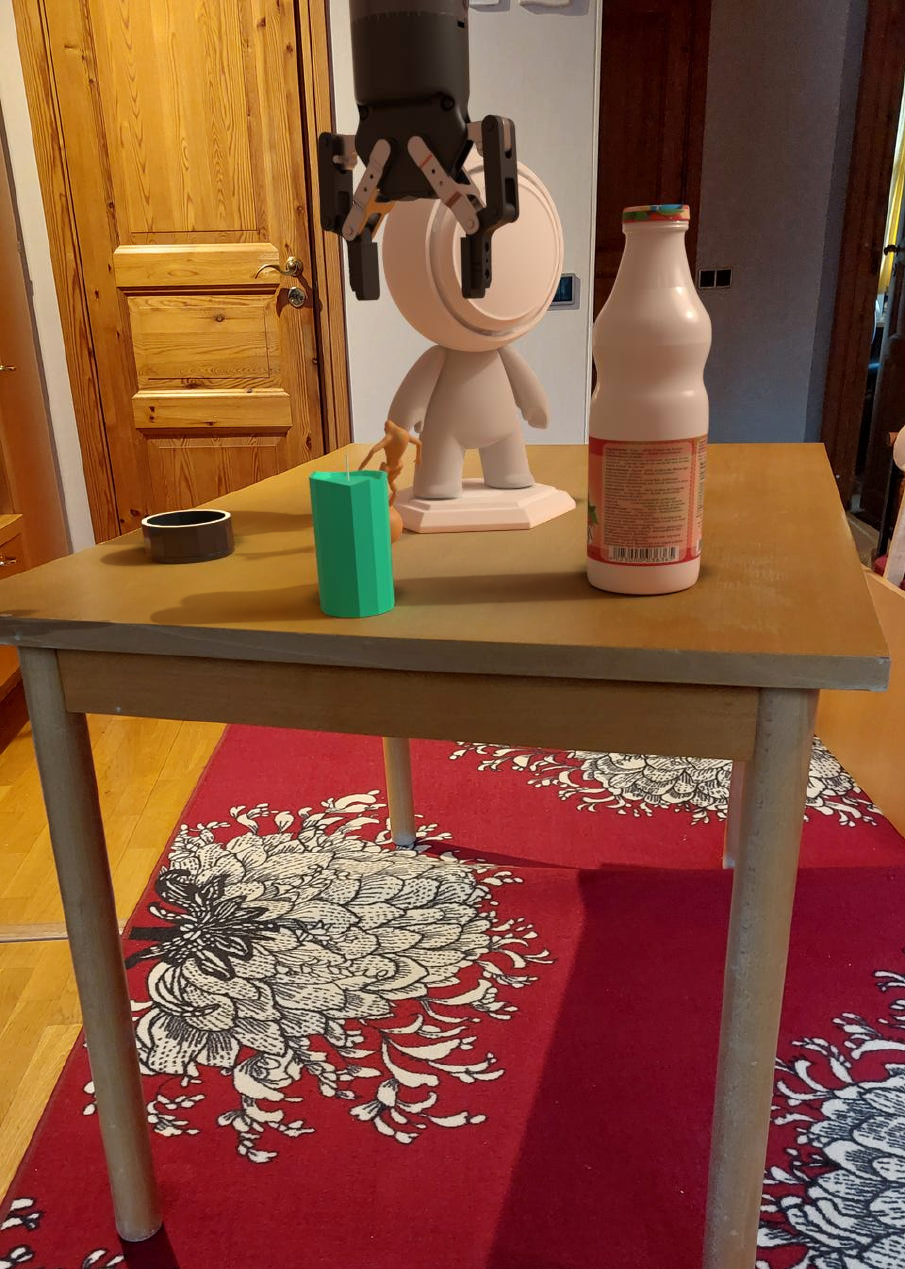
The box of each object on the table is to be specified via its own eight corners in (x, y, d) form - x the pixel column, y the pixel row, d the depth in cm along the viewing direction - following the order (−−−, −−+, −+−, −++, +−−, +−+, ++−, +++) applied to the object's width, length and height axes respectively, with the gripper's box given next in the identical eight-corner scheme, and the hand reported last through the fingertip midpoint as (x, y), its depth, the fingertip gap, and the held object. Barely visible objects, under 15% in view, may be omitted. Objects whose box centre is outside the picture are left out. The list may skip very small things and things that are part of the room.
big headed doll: (447, 542, 110) (431, 134, 95) (348, 509, 128) (321, 162, 113) (607, 516, 119) (616, 139, 104) (493, 488, 137) (486, 163, 122)
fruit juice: (640, 603, 87) (655, 201, 75) (563, 581, 94) (565, 211, 82) (722, 582, 92) (749, 201, 80) (643, 563, 99) (656, 210, 87)
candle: (307, 614, 88) (292, 459, 83) (342, 595, 93) (329, 447, 88) (375, 620, 86) (364, 460, 81) (406, 600, 91) (398, 448, 86)
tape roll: (167, 568, 105) (161, 531, 103) (134, 553, 111) (128, 518, 109) (249, 553, 109) (245, 517, 107) (213, 540, 115) (208, 506, 114)
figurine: (400, 535, 114) (393, 413, 109) (441, 543, 110) (436, 416, 105) (339, 550, 109) (328, 422, 103) (379, 559, 105) (371, 426, 99)
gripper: (282, 23, 70) (305, 303, 77) (481, -10, 64) (486, 299, 71) (348, 41, 76) (363, 300, 83) (536, 13, 69) (535, 296, 76)
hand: (420, 299), depth 77 cm, fingers open, 8 cm apart
